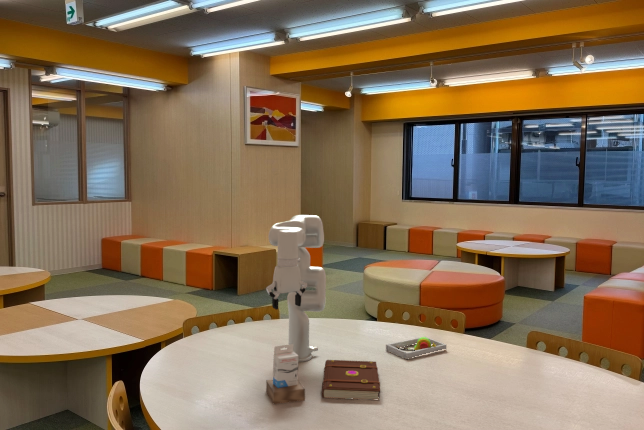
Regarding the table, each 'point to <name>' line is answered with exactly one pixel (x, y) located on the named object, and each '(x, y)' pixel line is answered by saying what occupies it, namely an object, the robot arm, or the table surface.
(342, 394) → the book
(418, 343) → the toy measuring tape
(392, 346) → the grey plastic rim
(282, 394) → the walnut block
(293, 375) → the ink box
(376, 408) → the table surface
